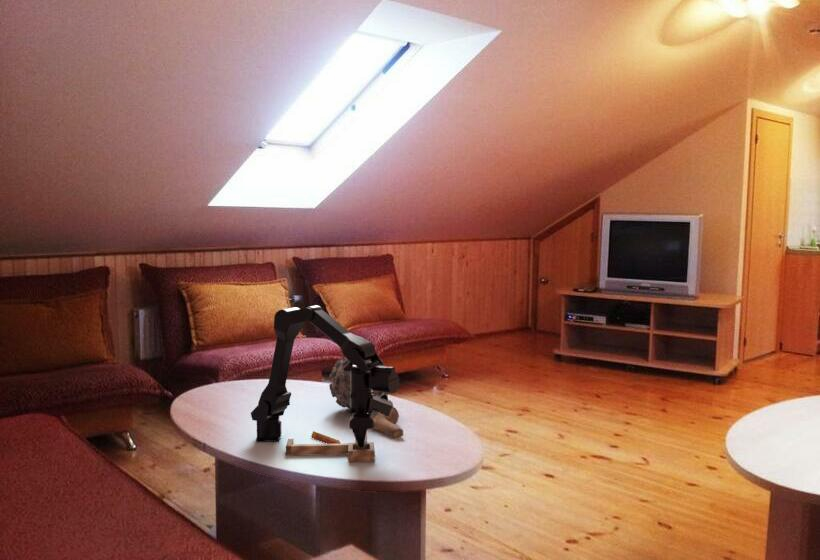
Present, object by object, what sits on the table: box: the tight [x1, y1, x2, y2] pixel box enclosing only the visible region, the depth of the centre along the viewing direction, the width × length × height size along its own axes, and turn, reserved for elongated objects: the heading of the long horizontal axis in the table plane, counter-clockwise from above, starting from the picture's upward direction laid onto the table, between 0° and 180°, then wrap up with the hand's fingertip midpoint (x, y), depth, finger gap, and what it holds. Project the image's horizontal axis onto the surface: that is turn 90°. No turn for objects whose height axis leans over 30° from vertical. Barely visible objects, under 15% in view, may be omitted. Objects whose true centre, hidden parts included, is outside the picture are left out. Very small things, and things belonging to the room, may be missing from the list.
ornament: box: [328, 355, 389, 412], centre depth 237 cm, size 20×20×20 cm
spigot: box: [354, 431, 368, 450], centre depth 192 cm, size 3×3×8 cm
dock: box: [285, 438, 376, 463], centre depth 195 cm, size 24×13×3 cm, turn 95°
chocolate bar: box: [310, 430, 341, 444], centre depth 206 cm, size 3×12×2 cm, turn 45°
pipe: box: [373, 406, 404, 439], centre depth 217 cm, size 6×17×10 cm
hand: (361, 444), depth 193 cm, fingers closed on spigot, 3 cm apart
